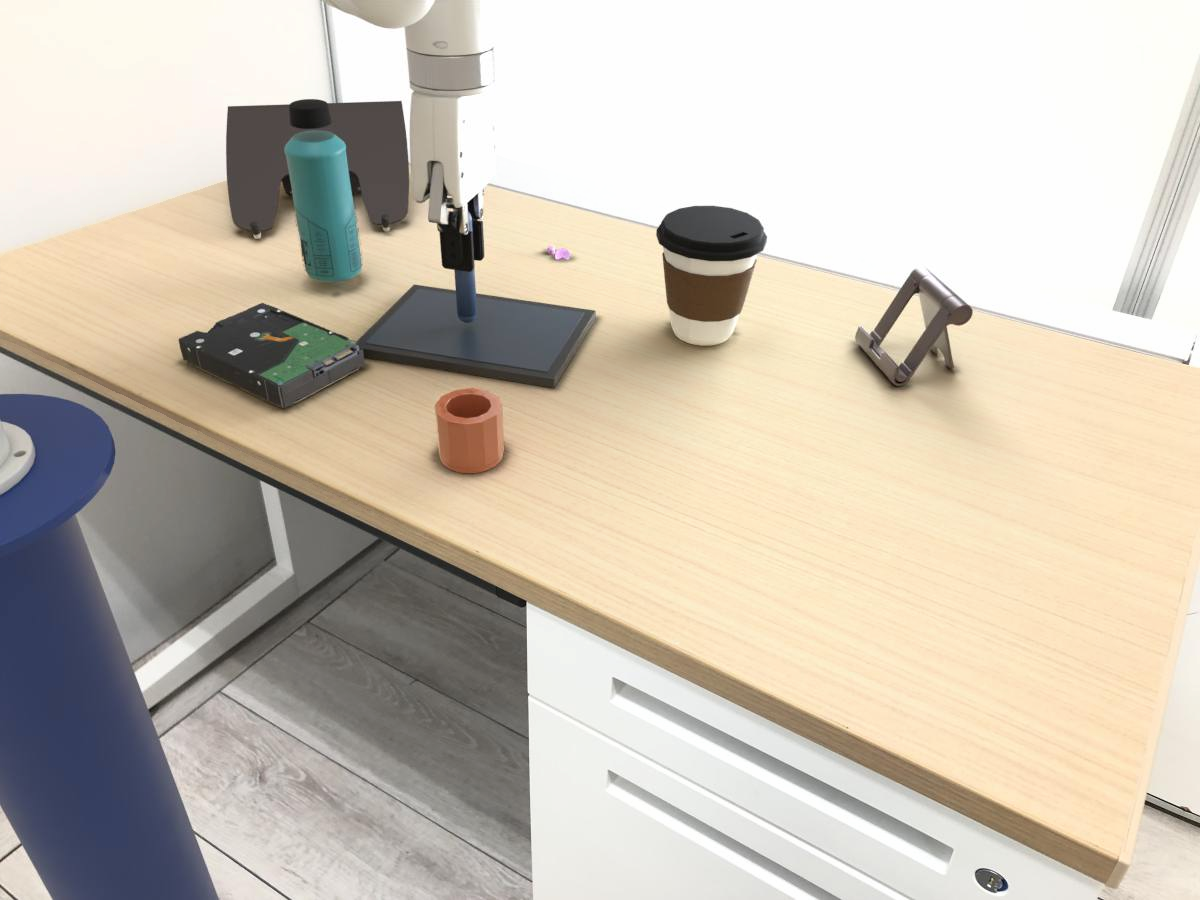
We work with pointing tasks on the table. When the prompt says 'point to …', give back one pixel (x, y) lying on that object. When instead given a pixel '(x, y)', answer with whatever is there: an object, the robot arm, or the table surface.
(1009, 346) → the table surface
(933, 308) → the tablet stand
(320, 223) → the beverage bottle
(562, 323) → the tablet
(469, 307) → the blue rounded rod
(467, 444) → the pen pot
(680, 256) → the coffee cup
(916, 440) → the table surface
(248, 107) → the laptop tray
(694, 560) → the table surface
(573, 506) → the table surface
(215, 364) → the disk drive
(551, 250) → the pink pawn
